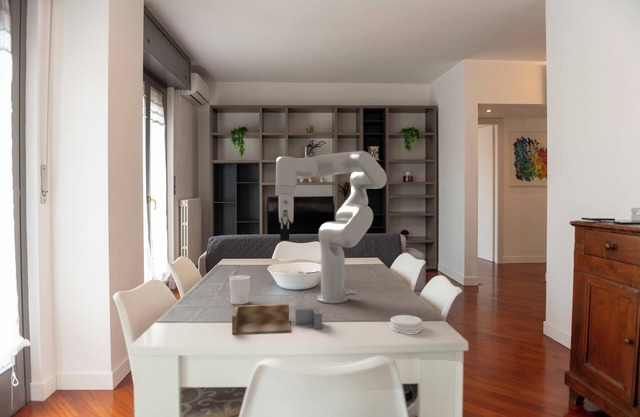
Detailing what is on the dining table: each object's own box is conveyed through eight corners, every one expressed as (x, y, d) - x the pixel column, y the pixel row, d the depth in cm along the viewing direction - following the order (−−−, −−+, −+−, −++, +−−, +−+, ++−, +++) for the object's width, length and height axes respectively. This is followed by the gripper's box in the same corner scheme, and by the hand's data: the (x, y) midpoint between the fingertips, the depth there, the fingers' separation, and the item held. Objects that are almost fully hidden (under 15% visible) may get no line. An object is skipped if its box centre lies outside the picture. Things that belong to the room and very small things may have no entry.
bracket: (318, 322, 143) (319, 307, 143) (321, 329, 136) (321, 313, 136) (295, 322, 142) (295, 308, 142) (296, 330, 135) (296, 314, 135)
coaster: (402, 336, 130) (402, 325, 130) (384, 327, 139) (384, 316, 139) (428, 332, 134) (428, 321, 134) (409, 323, 143) (410, 313, 143)
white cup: (245, 305, 163) (245, 279, 162) (226, 304, 164) (225, 278, 164) (252, 300, 171) (252, 275, 170) (234, 299, 172) (234, 274, 172)
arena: (288, 320, 145) (288, 304, 145) (290, 332, 133) (290, 314, 133) (235, 322, 143) (234, 305, 142) (232, 334, 131) (232, 316, 131)
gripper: (296, 191, 145) (295, 241, 145) (296, 191, 162) (295, 236, 163) (274, 190, 144) (273, 241, 145) (276, 191, 162) (275, 236, 162)
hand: (284, 238), depth 154 cm, fingers open, 9 cm apart
